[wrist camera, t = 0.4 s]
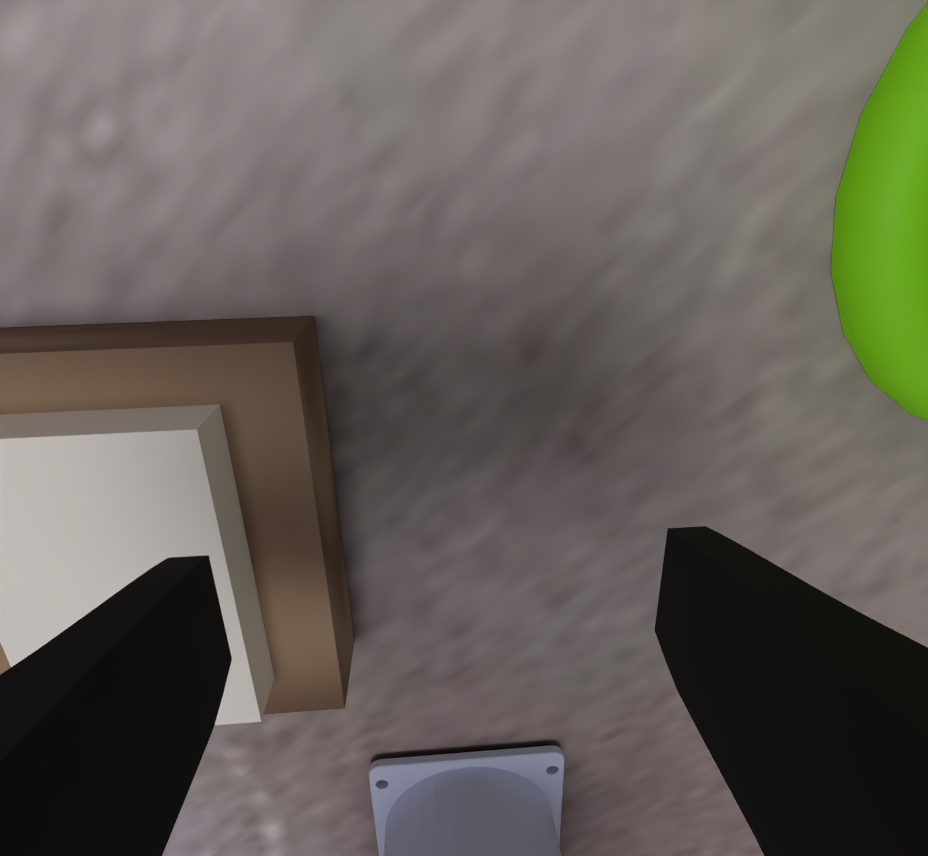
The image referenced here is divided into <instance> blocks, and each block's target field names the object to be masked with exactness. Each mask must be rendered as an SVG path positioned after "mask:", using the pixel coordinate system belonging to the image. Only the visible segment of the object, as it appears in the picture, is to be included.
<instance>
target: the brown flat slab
mask: <svg viewBox="0 0 928 856" xmlns="http://www.w3.org/2000/svg"><path fill="white" fill-rule="evenodd" d="M218 404H220V409H221V414H222V419H223V424H224V429H225V434H226V439H227V444H228V449H229V454H230V459H231V464H232V469H233V474H234V479H235V484H236V488H237V493H238V498H239V503H240V508H241V513H242V518H243V523H244V528H245V533H246V538H247V543H248V548H249V553H250V558H251V563H252V568H253V573H254V578H255V583H256V588H257V593H258V598H259V603H260V608H261V613H262V618H263V623H264V628H265V633H266V638H267V643H268V648H269V653H270V658H271V663H272V668H273V673H274V680H273V684H272V687H271V691H270V694H269V697H268V701H267V704H266V707H265V711H264V714H274V713H287V712H301V711H314V710H327V709H340V708H345V703H346V696H347V689H348V682H349V675H350V668H351V661H352V654H353V647H354V633H353V625H352V617H351V609H350V601H349V593H348V585H347V577H346V569H345V561H344V553H343V545H342V537H341V529H340V521H339V513H338V505H337V497H336V489H335V481H334V473H333V465H332V457H331V449H330V441H329V433H328V425H327V417H326V409H325V401H324V393H323V385H322V377H321V369H320V361H319V353H318V345H317V337H316V329H315V321H314V316H301V317H275V318H248V319H222V320H196V321H170V322H143V323H117V324H91V325H64V326H38V327H12V328H0V415H1V414H22V413H44V412H66V411H87V410H109V409H131V408H153V407H174V406H196V405H218ZM9 668H11V666H10V664H9V661H8V659H7V657H6V654H5V652H4V650H3V647H2V645H1V643H0V674H2V673H3V672H5V671H6V670H8V669H9Z"/></svg>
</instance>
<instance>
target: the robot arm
mask: <svg viewBox="0 0 928 856" xmlns="http://www.w3.org/2000/svg"><path fill="white" fill-rule="evenodd" d="M655 633H656V635H657V638H658V641H659V644H660V646H661V649H662V652H663V655H664V657H665V660H666V663H667V665H668V668H669V670H670V673H671V675H672V678H673V680H674V683H675V685H676V688H677V690H678V692H679V694H680V696H681V698H682V700H683V702H684V704H685V706H686V708H687V710H688V712H689V714H690V715H691V717H692V719H693V721H694V723H695V725H696V727H697V729H698V731H699V733H700V734H701V736H702V738H703V740H704V742H705V744H706V746H707V748H708V750H709V751H710V753H711V755H712V757H713V759H714V761H715V763H716V764H717V766H718V768H719V770H720V772H721V774H722V776H723V778H724V779H725V781H726V783H727V785H728V787H729V789H730V791H731V792H732V794H733V796H734V798H735V800H736V802H737V804H738V806H739V807H740V809H741V811H742V813H743V815H744V817H745V819H746V821H747V822H748V824H749V826H750V828H751V830H752V832H753V834H754V835H755V837H756V839H757V841H758V844H759V846H760V848H761V850H762V852H763V854H764V856H928V648H927V647H925V646H923V645H921V644H919V643H917V642H915V641H914V640H912V639H910V638H908V637H906V636H904V635H902V634H900V633H898V632H896V631H894V630H892V629H890V628H888V627H886V626H884V625H882V624H881V623H879V622H877V621H875V620H873V619H871V618H869V617H867V616H865V615H863V614H862V613H860V612H858V611H856V610H854V609H852V608H851V607H849V606H847V605H845V604H843V603H841V602H840V601H838V600H836V599H834V598H832V597H831V596H829V595H827V594H825V593H824V592H822V591H820V590H818V589H816V588H815V587H813V586H811V585H809V584H808V583H806V582H804V581H802V580H801V579H799V578H797V577H795V576H794V575H792V574H790V573H789V572H787V571H785V570H783V569H782V568H780V567H778V566H776V565H775V564H773V563H771V562H770V561H768V560H766V559H764V558H763V557H761V556H759V555H757V554H756V553H754V552H752V551H751V550H749V549H747V548H745V547H743V546H742V545H740V544H738V543H736V542H735V541H733V540H731V539H729V538H727V537H725V536H724V535H722V534H720V533H718V532H716V531H714V530H712V529H710V528H707V527H705V526H703V527H686V528H668V531H667V539H666V547H665V554H664V562H663V570H662V578H661V585H660V593H659V601H658V609H657V616H656V624H655ZM231 661H232V657H231V652H230V648H229V643H228V639H227V635H226V630H225V626H224V621H223V617H222V612H221V608H220V603H219V599H218V595H217V590H216V586H215V581H214V577H213V572H212V568H211V563H210V559H209V555H204V556H187V557H170V558H167V559H165V560H163V561H162V562H160V563H159V564H157V565H155V566H154V567H152V568H151V569H149V570H148V571H146V572H145V573H144V574H142V575H141V576H139V577H138V578H136V579H135V580H134V581H132V582H131V583H129V584H128V585H127V586H125V587H124V588H122V589H121V590H120V591H118V592H117V593H115V594H114V595H113V596H111V597H110V598H109V599H107V600H106V601H104V602H103V603H102V604H100V605H99V606H98V607H96V608H95V609H93V610H92V611H91V612H89V613H88V614H86V615H85V616H84V617H82V618H81V619H79V620H78V621H77V622H75V623H74V624H72V625H71V626H70V627H68V628H67V629H66V630H64V631H63V632H61V633H60V634H59V635H57V636H56V637H54V638H53V639H52V640H50V641H49V642H47V643H46V644H45V645H43V646H42V647H40V648H39V649H38V650H36V651H35V652H33V653H32V654H30V655H29V656H27V657H26V658H24V659H23V660H21V661H20V662H18V663H17V664H15V665H14V666H12V667H11V668H9V669H8V670H6V671H5V672H3V673H2V674H0V856H162V854H163V852H164V849H165V847H166V844H167V842H168V839H169V837H170V835H171V832H172V830H173V827H174V825H175V822H176V820H177V817H178V815H179V812H180V810H181V808H182V805H183V803H184V800H185V798H186V795H187V793H188V790H189V788H190V785H191V783H192V781H193V778H194V776H195V773H196V771H197V768H198V766H199V763H200V760H201V758H202V755H203V753H204V750H205V748H206V745H207V743H208V740H209V738H210V735H211V733H212V730H213V727H214V725H215V722H216V718H217V715H218V711H219V707H220V704H221V700H222V697H223V693H224V689H225V685H226V681H227V677H228V673H229V669H230V665H231ZM564 761H565V759H564V755H563V751H562V749H561V748H560V747H557V746H552V745H550V746H538V747H526V748H513V749H501V750H488V751H476V752H464V753H451V754H439V755H426V756H414V757H401V758H389V759H379V760H376V761H374V762H372V763H371V765H370V768H369V782H370V790H371V798H372V806H373V814H374V822H375V829H376V837H377V845H378V853H379V856H561V852H560V847H559V841H560V825H561V809H562V793H563V777H564Z"/></svg>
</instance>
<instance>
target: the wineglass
mask: <svg viewBox="0 0 928 856" xmlns="http://www.w3.org/2000/svg"><path fill="white" fill-rule="evenodd" d="M831 275H832V280H833V285H834V290H835V295H836V300H837V305H838V310H839V315H840V320H841V325H842V330H843V334H844V335H845V337H846V339H847V341H848V342H849V344H850V346H851V348H852V349H853V351H854V353H855V355H856V356H857V358H858V360H859V362H860V363H861V365H862V367H863V369H864V370H865V372H866V374H867V376H868V377H869V379H870V381H871V382H872V383H874V384H875V385H876V386H877V387H878V388H880V389H881V390H882V391H883V392H884V393H886V394H887V395H888V396H889V397H890V398H892V399H893V400H894V401H895V402H896V403H898V404H899V405H900V406H901V407H902V408H903V409H905V410H906V411H907V412H908V413H909V414H912V415H914V416H917V417H920V418H923V419H925V420H928V3H927V5H926V6H925V7H924V8H923V10H922V11H921V12H920V13H919V14H918V16H917V17H916V18H915V19H914V21H913V22H912V23H911V24H910V26H909V27H908V28H907V30H906V32H905V34H904V35H903V37H902V39H901V41H900V43H899V45H898V47H897V48H896V50H895V52H894V54H893V56H892V58H891V60H890V61H889V63H888V65H887V67H886V69H885V71H884V73H883V74H882V76H881V78H880V80H879V82H878V84H877V86H876V87H875V89H874V91H873V93H872V95H871V97H870V99H869V100H868V102H867V104H866V106H865V108H864V110H863V112H862V113H861V116H860V119H859V123H858V126H857V129H856V133H855V136H854V139H853V142H852V146H851V149H850V152H849V156H848V159H847V162H846V166H845V169H844V172H843V175H842V179H841V182H840V185H839V189H838V192H837V195H836V203H835V217H834V231H833V246H832V260H831Z"/></svg>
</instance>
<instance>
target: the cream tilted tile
mask: <svg viewBox="0 0 928 856" xmlns="http://www.w3.org/2000/svg"><path fill="white" fill-rule="evenodd" d="M204 555H209V559H210V563H211V568H212V572H213V577H214V581H215V586H216V590H217V595H218V599H219V603H220V608H221V612H222V617H223V621H224V626H225V630H226V635H227V639H228V643H229V648H230V652H231V657H232V661H231V665H230V669H229V673H228V677H227V681H226V685H225V689H224V693H223V697H222V700H221V704H220V707H219V711H218V715H217V718H216V722H215V725H224V724H237V723H250V722H261V721H262V718H263V714H264V711H265V707H266V704H267V701H268V697H269V694H270V691H271V687H272V684H273V680H274V673H273V668H272V663H271V658H270V653H269V648H268V643H267V638H266V633H265V628H264V623H263V618H262V613H261V608H260V603H259V598H258V593H257V588H256V583H255V578H254V573H253V568H252V563H251V558H250V553H249V548H248V543H247V538H246V533H245V528H244V523H243V518H242V513H241V508H240V503H239V498H238V493H237V488H236V484H235V479H234V474H233V469H232V464H231V459H230V454H229V449H228V444H227V439H226V434H225V429H224V424H223V419H222V414H221V409H220V404H218V405H196V406H174V407H153V408H131V409H109V410H87V411H66V412H44V413H22V414H1V415H0V643H1V645H2V647H3V650H4V652H5V654H6V657H7V659H8V661H9V664H10V666H11V667H12V666H14V665H15V664H17V663H18V662H20V661H21V660H23V659H24V658H26V657H27V656H29V655H30V654H32V653H33V652H35V651H36V650H38V649H39V648H40V647H42V646H43V645H45V644H46V643H47V642H49V641H50V640H52V639H53V638H54V637H56V636H57V635H59V634H60V633H61V632H63V631H64V630H66V629H67V628H68V627H70V626H71V625H72V624H74V623H75V622H77V621H78V620H79V619H81V618H82V617H84V616H85V615H86V614H88V613H89V612H91V611H92V610H93V609H95V608H96V607H98V606H99V605H100V604H102V603H103V602H104V601H106V600H107V599H109V598H110V597H111V596H113V595H114V594H115V593H117V592H118V591H120V590H121V589H122V588H124V587H125V586H127V585H128V584H129V583H131V582H132V581H134V580H135V579H136V578H138V577H139V576H141V575H142V574H144V573H145V572H146V571H148V570H149V569H151V568H152V567H154V566H155V565H157V564H159V563H160V562H162V561H163V560H165V559H167V558H170V557H187V556H204Z"/></svg>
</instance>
